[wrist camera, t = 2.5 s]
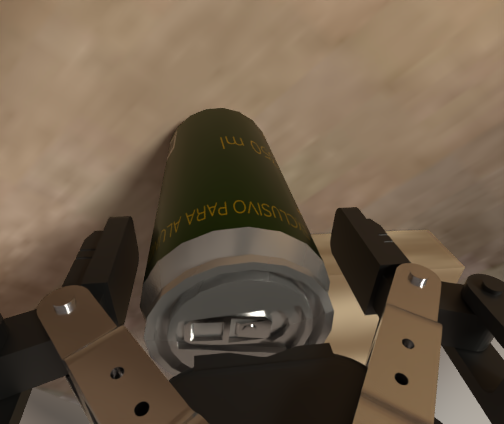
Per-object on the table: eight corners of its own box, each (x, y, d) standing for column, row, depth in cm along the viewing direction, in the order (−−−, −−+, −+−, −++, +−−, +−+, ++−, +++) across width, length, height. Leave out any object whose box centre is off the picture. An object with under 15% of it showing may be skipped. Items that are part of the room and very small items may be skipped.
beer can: (170, 192, 20) (140, 398, 10) (168, 99, 17) (124, 253, 7) (259, 195, 20) (317, 385, 11) (272, 107, 18) (369, 254, 8)
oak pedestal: (234, 237, 22) (240, 280, 19) (427, 229, 24) (464, 267, 21) (230, 363, 29) (234, 410, 26) (378, 349, 31) (399, 391, 28)
